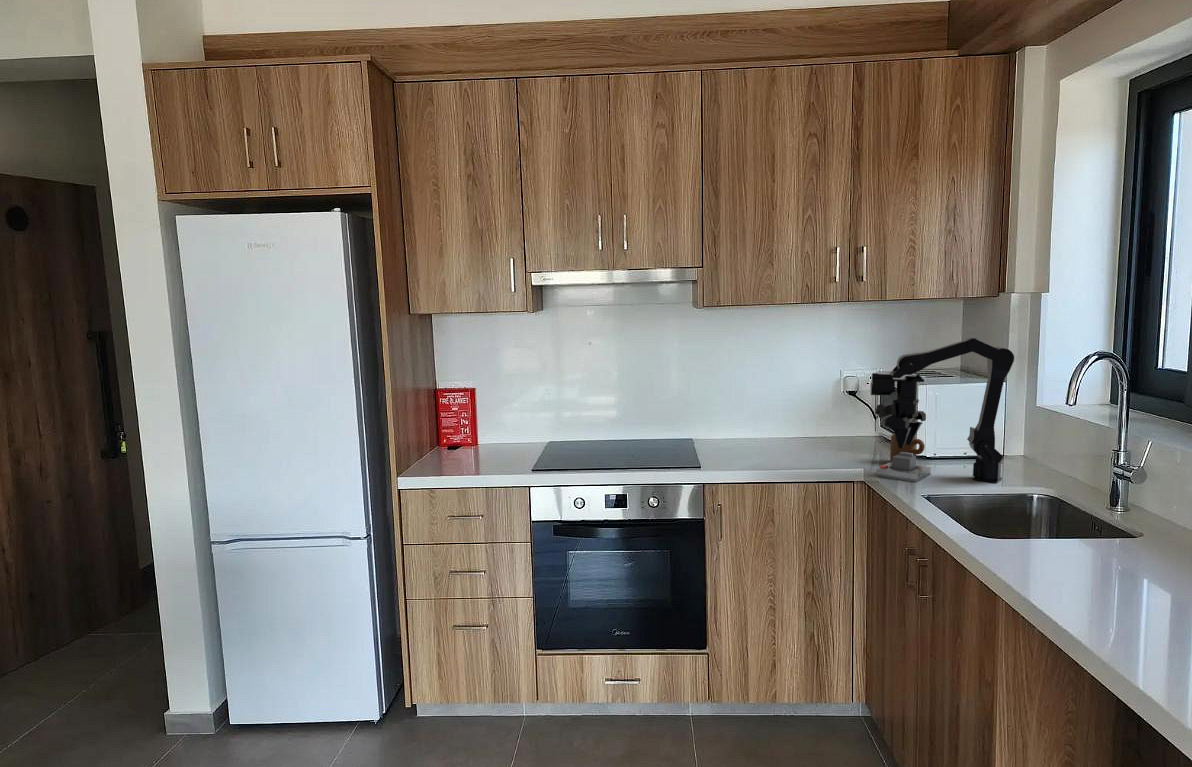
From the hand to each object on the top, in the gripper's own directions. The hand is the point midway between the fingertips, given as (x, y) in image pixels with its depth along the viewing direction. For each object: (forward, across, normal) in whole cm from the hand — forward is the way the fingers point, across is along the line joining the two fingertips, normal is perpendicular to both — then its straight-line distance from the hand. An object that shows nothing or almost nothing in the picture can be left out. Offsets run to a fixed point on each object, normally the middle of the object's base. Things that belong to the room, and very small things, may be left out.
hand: (904, 446), depth 227 cm
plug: (+8, 0, 0) cm, 8 cm away
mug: (+9, -15, -4) cm, 18 cm away
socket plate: (+9, 0, 0) cm, 9 cm away
